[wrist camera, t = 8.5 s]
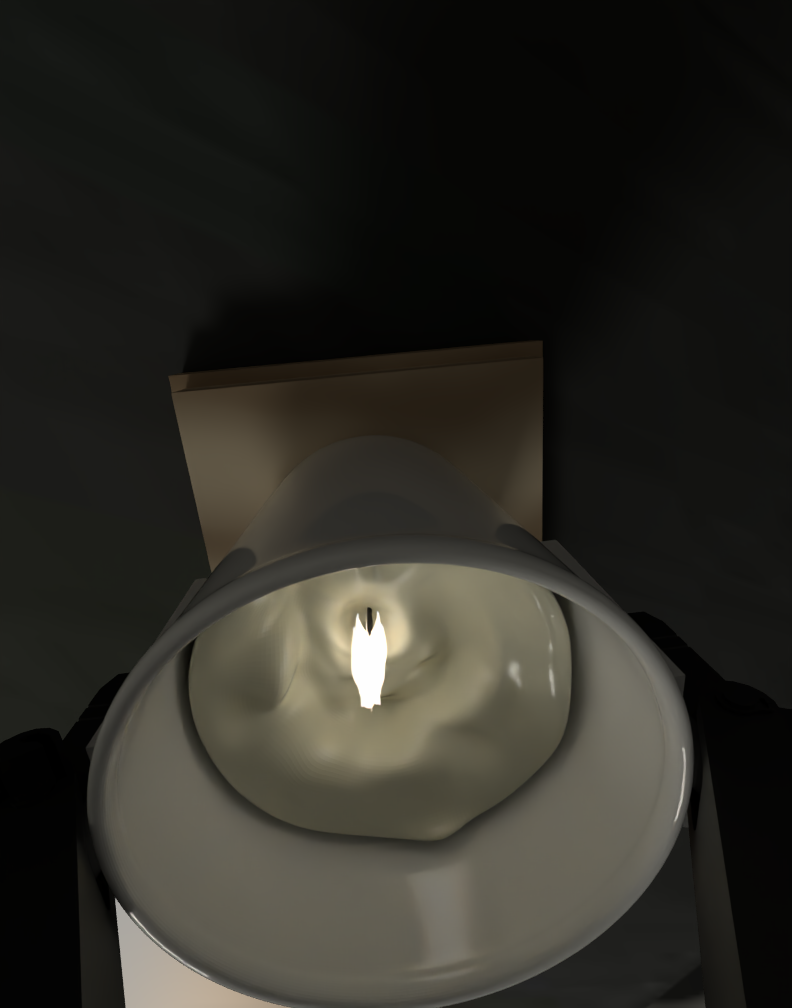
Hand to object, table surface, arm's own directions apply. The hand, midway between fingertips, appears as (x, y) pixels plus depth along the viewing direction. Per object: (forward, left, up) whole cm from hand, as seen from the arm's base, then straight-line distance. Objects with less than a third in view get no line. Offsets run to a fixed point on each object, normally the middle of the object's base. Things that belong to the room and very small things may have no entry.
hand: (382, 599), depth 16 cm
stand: (0, 0, -7) cm, 7 cm away
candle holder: (0, 0, -4) cm, 4 cm away
